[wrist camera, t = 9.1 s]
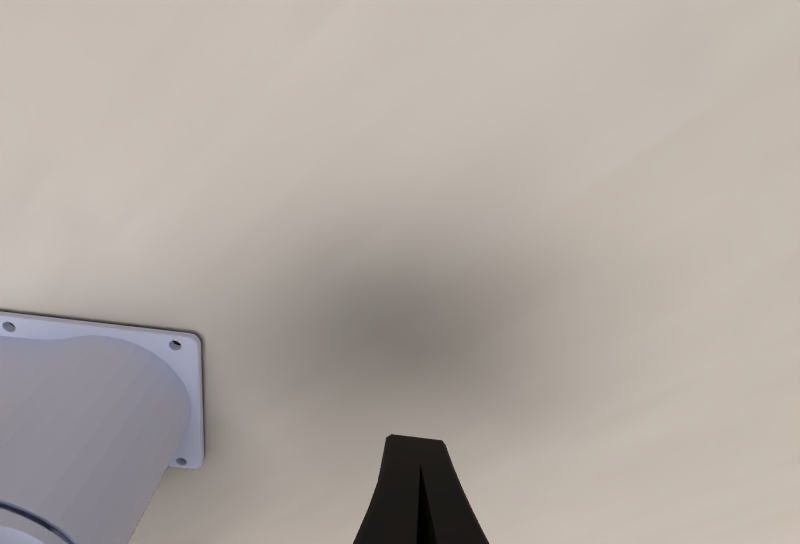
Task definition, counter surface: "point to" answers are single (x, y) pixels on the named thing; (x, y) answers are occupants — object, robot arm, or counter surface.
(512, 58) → the counter surface
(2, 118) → the counter surface
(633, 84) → the counter surface
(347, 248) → the counter surface
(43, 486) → the robot arm
